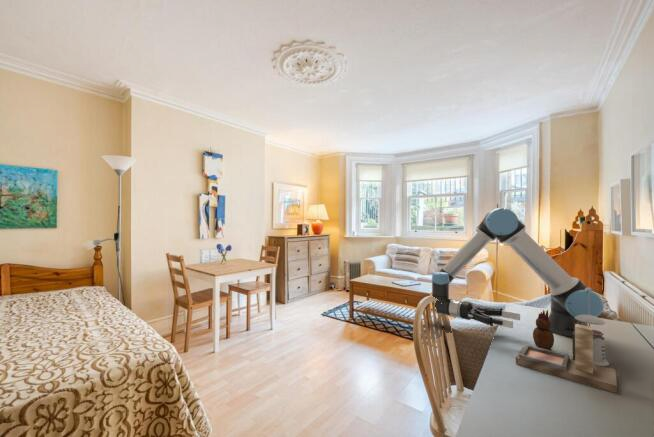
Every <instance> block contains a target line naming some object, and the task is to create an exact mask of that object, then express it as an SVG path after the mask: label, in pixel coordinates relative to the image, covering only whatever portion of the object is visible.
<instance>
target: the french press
mask: <svg viewBox="0 0 654 437" xmlns="http://www.w3.org/2000/svg"><path fill="white" fill-rule="evenodd" d="M585 291H588V297H589V291H591V292H592V291H593V288H592V287H587V288H586V289H585ZM574 318H575V319H576V320H578V324H579V321H581V324H582V322H584V323H586V324H588V326H590V327H591V325H598V326H602V325H605V324H606V322H605V321H604V320H603V319H601V318H600V317H598V316H597V317H595V316H591V315H590V302H589V315H578V316H575V317H574ZM584 323H583V325H586V324H584ZM592 330H593V364H595V365H599V366H603V367H606V366H609V365H610V362H608V360H607V359H606V338H605V337H604V336H603V335H604V333H603V332H602V331H600V330H597V329H592ZM571 356H572V357H573V353H572V354H571Z"/></svg>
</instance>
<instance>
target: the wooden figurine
mask: <svg viewBox="0 0 654 437" xmlns="http://www.w3.org/2000/svg"><path fill="white" fill-rule="evenodd" d="M548 318H549V309H547V310H546V312H545V309H544V310H542V312H540V313H538V317H537V318H536V319H535V326H536V327H535V328H533V331H532V339H533V341H534V342H533V343H534V344H535V347H538V348H542V349H546V350H552V349H553V347H554V343H555V337H554V332H551V331H550V330H549V329H550V328H551V323H550V321H549V320H548Z"/></svg>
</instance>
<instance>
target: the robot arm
mask: <svg viewBox="0 0 654 437" xmlns="http://www.w3.org/2000/svg"><path fill="white" fill-rule="evenodd" d="M496 239H497V240H498V241H499V242H500V243H501V244H506V245H508V247H510V248H511V249H512V250H513V252H514V253H516V255H518V256H519V258H521V260H522V261H523V262H524V263H525V264H526V265H527V266H528V267H529V268H530V269H531V270H532V271H533V272H534V273H535V274H536V275H537V276H538V278H540V280H542V281H543V283H545V285H546V286H548V288H550V291H549V292H550V313H549V314H548V320H549V321H550V323H551V328H550V329H549V330H550V331H551V332H552V333H553V334H557V335H560V336H563V337H564V336H565V337H569V338H573V336H572V334H573V331H574V332H575V324H578V320H576V319H575V318H574V317H575V316H578V315H589V302H590V315H591V316H595V317H598V316H600V315H601V314H602V312H603V310H604V302H603V299H602V298H601V297H600V295H598V294H597V293H596V292H594V291H593V290H592V292H591V291H589V297H588V291H585V289H586V288H588V287H587V285H585V282H583V281H581V280H580V279H579V278H577V277H572V276H571V275H570V274H569V273H567V271H566V270H564V268H562V267H561V266H560V265H559V263H557V261H555V260H554V259H553V258H552V257H551V256H550V255H549V254H548V253H547V252H546V250H544V249H543V248H542V247H541V245H540V244H538V243H537V242H536V240H534V239H533V238H532V237H531V236H530V234H528V233H527V232H526V225H525V224H523V222H521V220H520V219H519V217H518V215H517V214H516V213H515V212H514V211H512V210H511V209H508V208H506V207H497V208H495V209H494V208H493V209H492V210H491V211H489V212H487V213H486V214H485V216H484V217H483V219H482V221H481V222H480V223H479V224H478V226H477V227H476V228H475V232H474V233H473V234H472V235H471V237H469V238H468V239H467V241H466V242H465V243H464V244H463V245H462V246H461V248H460V249H458V250H457V252H455V254H454V255H453V256H452V257H451V258H450V259H449V260H448V261H447V262H446V263H445V265H443V267H442V268H441V269H440V270H439V271H435V272H432V276H431V281H432V282H431V287H432V288H431V289H432V290H431V291H432V293H431V296H433V297H435V298H437V299H438V300H439V301H438V300H437V301H436V303H435V307H436V309H437V313H436V314H439V313H442V314H441V315H447V316H450V317H453V318H454V319H456V318H458V319H460V318H461V319H463V320H468V321H469V320H474V321H477V322H480V323H482V324H485V325H488V326H490V327H494V325H496V326H500V327H504V328H509V329H513V328H514V321H513V320H516V321H521V314H520V312H519V313H518V312H513V311H507V310H503V308H501V307H500V308H494V307H483V306H476V307H474V306H473V304H472V303H471V302H468V301H461V300H457V299H451V298H449V297H450V295H449V294H450V284H451V282H453V280H454V279H455V278H456V277H457V276H458V275H459V274H460V273H461V272H462V271H463V270H464V269H465V268H466V267H467V266H468V265H469V264H470V262H472V260H473V259H475V258H476V256H477V255H478V254H479V253H481V252H482V250H483V249H484V248H485V247H486V245H488V244H489V243H490V242H494V240H496ZM441 303H442V304H441ZM499 317H501V318H499ZM510 319H511V320H510ZM583 323H584V322H582V324H581V321H579V325H583ZM584 324H586V323H584ZM585 326H589V323H587V324H586V325H585Z"/></svg>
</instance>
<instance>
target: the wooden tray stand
mask: <svg viewBox="0 0 654 437" xmlns="http://www.w3.org/2000/svg"><path fill="white" fill-rule="evenodd" d="M593 330H594V329H593V326H591V325H590V326H589V325H588V326H585V325H579V324H575V332H574V331H573V334H572V336H573V337H572V354H573V356H572V358H571V357H570V355H569V354H568V353H567V354H565V353H562V352H558V351H554V350H552V349H550V350H546V349H542V348H538V347H537V346H533V345H531V344H530V345H529V344H525V346H522V347H521V349H520V351H519V352H518V353H517V355H516V357H515V365H518V366H522V367H524V368H529V369H531V370H532V369H533V370H536V371H540V372H543V373H546V374H550V375H553V376H557V377H560V378H563V379H567V380H571V381H574V382H577V383H582V384H584V385H587V386H588V385H589V386H591V387H595V388H598V389H601V390H605V391H607V392H608V391H609V392H612V393H616V394H618V383H617V382H618V381H617V372H616V369H614V368H610V367H606V366H600V365H595V364H593Z"/></svg>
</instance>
